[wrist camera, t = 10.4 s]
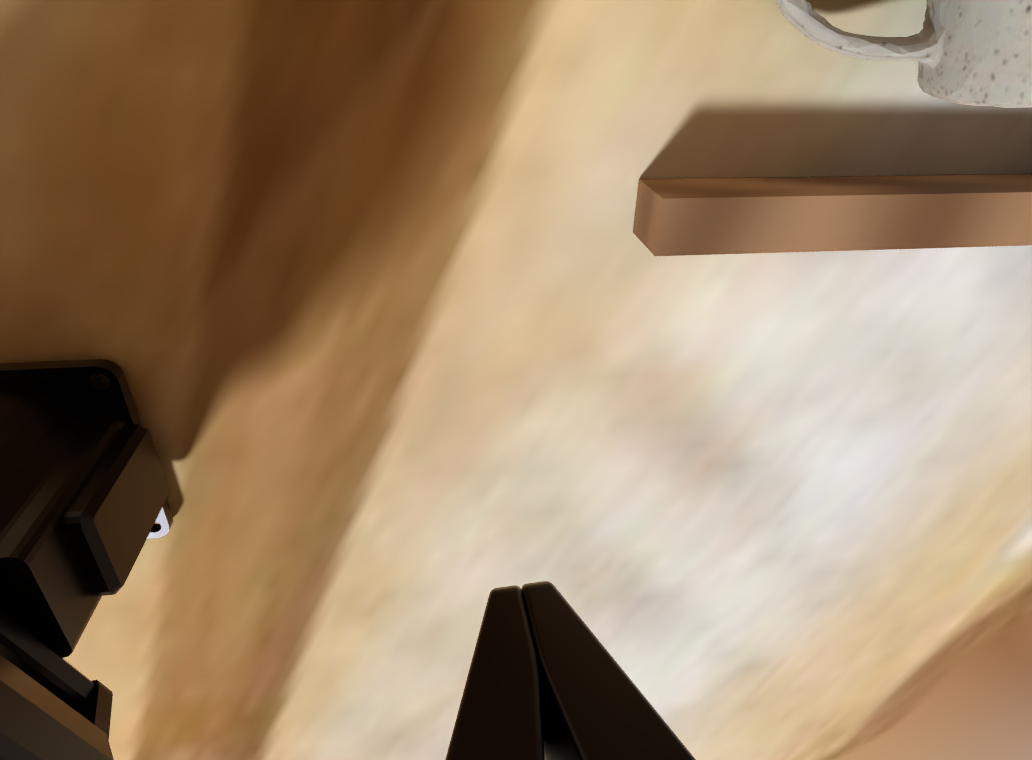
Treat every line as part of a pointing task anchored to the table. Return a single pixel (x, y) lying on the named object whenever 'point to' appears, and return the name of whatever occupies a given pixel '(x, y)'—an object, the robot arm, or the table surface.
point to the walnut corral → (832, 213)
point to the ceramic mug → (947, 48)
